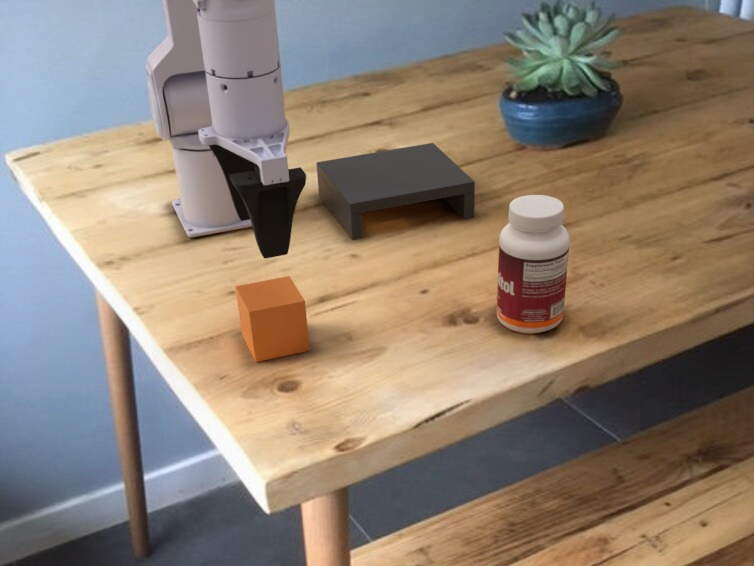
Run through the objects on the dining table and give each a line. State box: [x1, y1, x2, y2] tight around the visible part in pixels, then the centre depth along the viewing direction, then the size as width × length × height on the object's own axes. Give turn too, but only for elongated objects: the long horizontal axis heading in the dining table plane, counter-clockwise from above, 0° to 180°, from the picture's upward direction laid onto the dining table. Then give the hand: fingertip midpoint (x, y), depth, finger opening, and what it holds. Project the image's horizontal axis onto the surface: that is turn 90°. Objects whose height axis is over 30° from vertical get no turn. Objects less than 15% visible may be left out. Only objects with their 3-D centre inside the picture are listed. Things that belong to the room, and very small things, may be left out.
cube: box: [234, 275, 311, 363], centre depth 93 cm, size 5×5×5 cm
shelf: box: [316, 142, 476, 241], centre depth 114 cm, size 12×14×4 cm
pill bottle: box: [496, 194, 571, 334], centre depth 93 cm, size 6×6×11 cm
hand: (262, 235), depth 87 cm, fingers open, 7 cm apart
